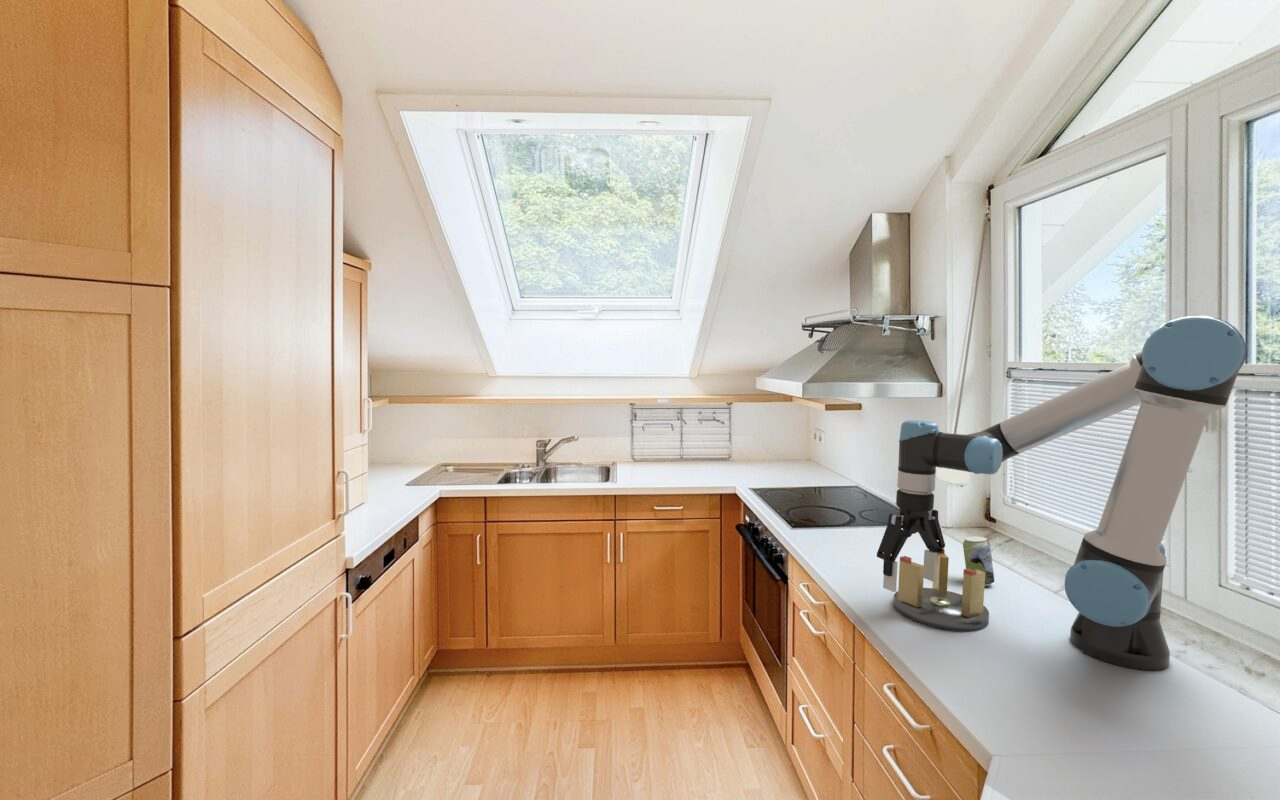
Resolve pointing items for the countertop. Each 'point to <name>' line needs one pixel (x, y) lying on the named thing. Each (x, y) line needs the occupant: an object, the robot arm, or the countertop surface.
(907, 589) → the knob
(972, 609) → the knob
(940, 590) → the knob
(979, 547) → the beverage can
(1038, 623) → the countertop surface
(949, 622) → the tribrach plate
